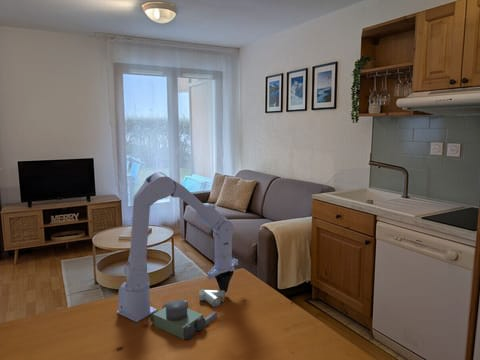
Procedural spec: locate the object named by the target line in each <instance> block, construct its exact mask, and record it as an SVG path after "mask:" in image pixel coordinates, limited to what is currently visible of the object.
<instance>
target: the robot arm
mask: <svg viewBox="0 0 480 360" xmlns="http://www.w3.org/2000/svg"><path fill="white" fill-rule="evenodd" d="M170 196H171V197H172V198H179V199H181V200H182V201H183V202H184V203H186V204H187V205H188V206H190V207H191V208H192V209H194V210H195V211H196V217H197V218H198V219H199V220H200V221H201V222H202V223H204V225H206V226H207V227H208V228H210V229H211V230H212V231H213V232H214V266H212V268H211V269H210V270H209V271H208V272H207V273H206V274H207V275H206V277H207V279H209V280H214V279H215V280H216V282H217V285H218V289H219V290H224V291H225V294H226V293H227V292H228V288H229V285H230V281H231V279H232V277H233V275H234V270H235V266H238V265H239V259H238V258H237V259H236V258H233V253H232V252H233V248H232V247H233V235H234V234H235V231H236V230H235V227H234V224H233V222H231V221H230V220H229V219H228V218H226V215H225V214H224V213H221V212H219V211H218V209H216V206H215V205H214V204H213V203H210V202H206V203H203V202H202V201H200V199H198V198H197V197H196V196H195V195H194V194H193V193H192V192H190V191H189V190H188V188H187V187H185V186H184V185H182V184H181V183H179V182H177V181H176V180H174V179H173V178H171V177H170V176H167V174H166V173H163V172H159V171H157V172H154V173H152V174H151V175H149V176H147V177H145V180H144V182H143V184H142V185H141V186H140V187H139V189H138V190H137V192H136V193H135V195H134V196H133V203H132V217H131V218H132V219H131V221H132V222H131V233H130V247H129V255H128V258H127V259H128V260H127V263H126V264H125V267H124V269H123V270H124V274H125V278H126V281H124V282H123V283H121V285H120V287H119V289H118V293H117V294H118V296H117V297H118V309H117V310H116V313H117V314H119V315H121V316H122V317H125V318H127V319H129V320H131V321H133V322H135V323H138V322H140V321H141V320H143V319H145V318H147V317H148V316H149V315H151V313H152V312H153V311H155V310H158V309H157V308H155V307H154V306H151V296H150V295H151V293H150V276H149V275H150V274H149V273H148V262H147V255H148V254H147V253H148V241H149V240H148V238H149V225H150V210H151V206H153V205H154V204H155V203H156V202H158V201H160V200H163V199H165V198H168V197H170Z"/></svg>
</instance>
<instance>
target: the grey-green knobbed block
mask: <svg viewBox="0 0 480 360" xmlns="http://www.w3.org/2000/svg"><path fill="white" fill-rule="evenodd" d="M188 306H189V301H188V300H186V299H185V300H181V299H179V300H177V299H174V300H172V301H169V302H168V303H165V304H164V305H162V308H161V309H160V310H158V309H157V310H155V311H153V312H152V313H151V314H150V316H149V321H150V322H151V323H153V326H155V327H157V328H159V329H161V330H162V331H165V332H167V333H169V334H172V335H174V336H175V337H177V338H180V339H182V340H191V339H192V338H193V337H194V335H195V333H196V332H197V331H199V332H201V331H203V330H204V329H205V327H206V326H207V325H208V324H210V323H211V322H212V321H214V320H215V319H216V318H218V312H217V311H213V312H211V313H209V315H207V316H206V317H204V314H202V313H200V312H197V311H195V310H193V309H190V308H188Z"/></svg>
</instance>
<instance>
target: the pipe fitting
mask: <svg viewBox="0 0 480 360" xmlns="http://www.w3.org/2000/svg"><path fill="white" fill-rule="evenodd" d="M225 294H226V293H225V291H224V290H220V289H219V290H217V289H205V288H204V289H201V288H200V289H199V291H198V299H199V301H206V302H207V303H208V304H209V305H211V306H212V307H213V308H217V307H219V306H220V305H221V303H222V302H224V301H225Z"/></svg>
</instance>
